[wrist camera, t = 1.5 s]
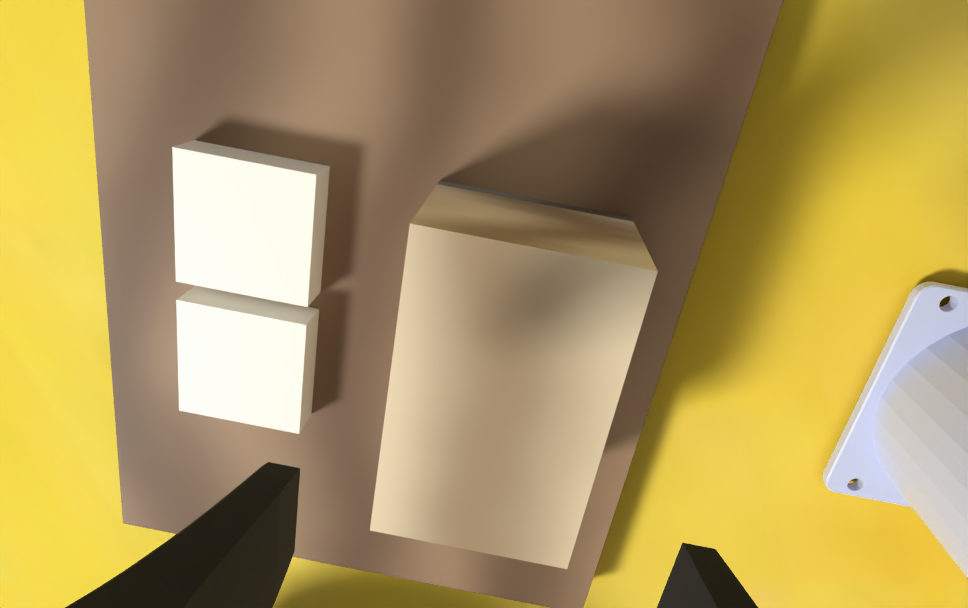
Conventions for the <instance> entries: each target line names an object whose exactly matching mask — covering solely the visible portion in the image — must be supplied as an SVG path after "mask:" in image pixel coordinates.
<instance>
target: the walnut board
mask: <svg viewBox="0 0 968 608" xmlns="http://www.w3.org/2000/svg"><path fill="white" fill-rule="evenodd" d="M782 3H783V0H84V6H85V19H86V33H87V46H88V60H89V73H90V86H91V100H92V113H93V127H94V140H95V153H96V167H97V180H98V194H99V207H100V220H101V234H102V247H103V260H104V274H105V287H106V301H107V314H108V327H109V341H110V354H111V368H112V381H113V394H114V408H115V421H116V435H117V448H118V461H119V475H120V488H121V502H122V515H123V523H124V524H129V525H134V526H139V527H145V528H150V529H155V530H160V531H165V532H170V533H175V534H178V533H179V532H180V531H181V530H183V529H184V528H185V527H187V526H188V525H189V524H191V523H192V522H193V521H194V520H196V519H197V518H198V517H200V516H201V515H202V514H204V513H205V512H206V511H208V510H209V509H210V508H211V507H213V506H214V505H215V504H216V503H218V502H219V501H220V500H221V499H223V498H224V497H225V496H226V495H228V494H229V493H230V492H231V491H232V490H234V489H235V488H236V487H237V486H238V485H240V484H241V483H242V482H243V481H244V480H246V479H247V478H248V477H249V476H250V475H252V474H253V473H254V472H255V471H256V470H258V469H259V468H260V467H261V466H263V465H264V464H266V463H267V462H271V463H276V464H281V465H286V466H292V467H297V468H300V480H299V494H298V509H297V524H296V538H295V551H294V554H293V556H292V557H297V558H302V559H307V560H312V561H317V562H322V563H327V564H332V565H337V566H342V567H347V568H353V569H358V570H363V571H368V572H373V573H378V574H383V575H388V576H393V577H398V578H403V579H408V580H413V581H418V582H424V583H429V584H434V585H439V586H444V587H449V588H454V589H459V590H464V591H469V592H474V593H479V594H484V595H490V596H495V597H500V598H505V599H510V600H515V601H520V602H525V603H530V604H535V605H540V606H545V607H550V608H583V607H584V604H585V601H586V598H587V595H588V592H589V589H590V586H591V583H592V580H593V577H594V574H595V571H596V568H597V565H598V562H599V559H600V555H601V552H602V549H603V546H604V543H605V540H606V537H607V534H608V531H609V528H610V525H611V522H612V519H613V516H614V513H615V510H616V507H617V504H618V501H619V498H620V495H621V492H622V489H623V486H624V483H625V480H626V477H627V474H628V470H629V467H630V464H631V461H632V458H633V455H634V452H635V449H636V446H637V443H638V440H639V437H640V434H641V431H642V428H643V425H644V422H645V419H646V416H647V413H648V410H649V407H650V404H651V401H652V398H653V395H654V392H655V389H656V385H657V382H658V379H659V376H660V373H661V370H662V367H663V364H664V361H665V358H666V355H667V352H668V349H669V346H670V343H671V340H672V337H673V334H674V331H675V328H676V325H677V322H678V319H679V316H680V313H681V310H682V307H683V304H684V300H685V297H686V294H687V291H688V288H689V285H690V282H691V279H692V276H693V273H694V270H695V267H696V264H697V261H698V258H699V255H700V252H701V249H702V246H703V243H704V240H705V237H706V234H707V231H708V228H709V225H710V222H711V219H712V215H713V212H714V209H715V206H716V203H717V200H718V197H719V194H720V191H721V188H722V185H723V182H724V179H725V176H726V173H727V170H728V167H729V164H730V161H731V158H732V155H733V152H734V149H735V146H736V143H737V140H738V137H739V134H740V130H741V127H742V124H743V121H744V118H745V115H746V112H747V109H748V106H749V103H750V100H751V97H752V94H753V91H754V88H755V85H756V82H757V79H758V76H759V73H760V70H761V67H762V64H763V61H764V58H765V55H766V52H767V49H768V45H769V42H770V39H771V36H772V33H773V30H774V27H775V24H776V21H777V18H778V15H779V12H780V9H781V6H782ZM193 140H196V141H201V142H206V143H211V144H217V145H222V146H227V147H232V148H238V149H243V150H248V151H253V152H258V153H264V154H269V155H274V156H279V157H284V158H290V159H295V160H300V161H305V162H310V163H316V164H321V165H326V166H330V171H329V185H328V198H327V212H326V225H325V239H324V252H323V265H322V279H321V292H320V293H319V294H318V296H317V297H316V298H315V299H314V300H313V301H312V303H311V304H310V305H309V306H308V307H311V308H316V309H319V319H318V332H317V346H316V359H315V373H314V386H313V400H312V413H311V415H310V417H309V419H308V420H307V422H306V424H305V425H304V427H303V429H302V430H301V432H300V434H297V433H291V432H286V431H281V430H276V429H271V428H266V427H261V426H256V425H250V424H245V423H240V422H235V421H230V420H225V419H220V418H215V417H210V416H204V415H199V414H194V413H189V412H184V411H179V388H178V349H177V311H176V300H177V299H178V298H179V297H181V296H182V295H183V294H185V293H186V292H188V291H189V290H190V289H192V288H193V287H194V286H196V285H191V284H186V283H180V282H176V272H175V233H174V195H173V156H172V147H174V146H177V145H181V144H184V143H187V142H190V141H193ZM440 180H441V181H446V182H451V183H456V184H461V185H467V186H472V187H477V188H482V189H487V190H493V191H498V192H503V193H508V194H514V195H519V196H524V197H529V198H534V199H540V200H545V201H550V202H555V203H560V204H566V205H571V206H576V207H581V208H587V209H592V210H597V211H602V212H607V213H613V214H618V215H623V216H628V217H632V219H633V221H634V223H635V225H636V227H637V229H638V231H639V234H640V236H641V238H642V240H643V242H644V244H645V246H646V248H647V250H648V252H649V254H650V256H651V258H652V260H653V262H654V264H655V266H656V268H657V271H658V273H657V276H656V279H655V282H654V286H653V289H652V292H651V295H650V299H649V302H648V305H647V309H646V312H645V315H644V318H643V322H642V325H641V328H640V332H639V335H638V338H637V341H636V345H635V348H634V351H633V355H632V358H631V361H630V364H629V368H628V371H627V374H626V378H625V381H624V384H623V387H622V391H621V394H620V397H619V401H618V404H617V407H616V410H615V414H614V417H613V420H612V424H611V427H610V430H609V433H608V437H607V440H606V443H605V447H604V450H603V453H602V456H601V460H600V463H599V466H598V470H597V473H596V476H595V479H594V483H593V486H592V489H591V493H590V496H589V499H588V502H587V506H586V509H585V512H584V515H583V519H582V522H581V525H580V529H579V532H578V535H577V538H576V542H575V545H574V548H573V552H572V555H571V558H570V561H569V565H568V568H567V569H563V568H558V567H553V566H548V565H543V564H538V563H533V562H528V561H523V560H518V559H513V558H507V557H502V556H497V555H492V554H487V553H482V552H477V551H472V550H467V549H462V548H457V547H452V546H446V545H441V544H436V543H431V542H426V541H421V540H416V539H411V538H406V537H401V536H396V535H390V534H385V533H380V532H375V531H370V525H371V517H372V510H373V502H374V494H375V487H376V479H377V471H378V463H379V456H380V448H381V440H382V433H383V425H384V417H385V410H386V402H387V394H388V387H389V379H390V371H391V364H392V356H393V348H394V341H395V333H396V325H397V318H398V310H399V302H400V295H401V287H402V279H403V272H404V264H405V256H406V249H407V241H408V233H409V226H410V222H411V221H412V220H413V218H414V217H415V215H416V214H417V212H418V211H419V209H420V208H421V207H422V205H423V204H424V202H425V201H426V199H427V198H428V196H429V195H430V194H431V192H432V191H433V189H434V188H435V186H436V185H437V183H438V182H439V181H440Z"/></svg>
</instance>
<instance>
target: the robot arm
mask: <svg viewBox="0 0 968 608" xmlns="http://www.w3.org/2000/svg"><path fill="white" fill-rule="evenodd" d="M947 296H951V297H950V301H949V302H948V303H947V304H946V305H944V306H941V307H939V304H940V302H941V300H942V299H943V298H945V297H947ZM822 479H823V482H824V483H825V485H826V487H827V488H828V489H829V490H831V491H833V492H837V493H842V494H847V495H852V496H857V497H862V498H867V499H872V500H878V501H883V502H888V503H893V504H898V505H903V506H908V507H912V508H913V509H914V510H915V512H916V513H917V514H918V515H919V517H920V518H921V519H922V521H923V522H924V523H925V524H926V526H927V527H928V528H929V530H930V531H931V532H932V533H933V535H934V536H935V537H936V539H937V540H938V541H939V542H940V544H941V545H942V546H943V547H944V549H945V550H946V551H947V553H948V554H949V555H950V556H951V558H952V559H953V560H954V562H955V563H956V564H957V565H958V567H959V568H960V569H961V571H962V572H963V573H964V574H965V576H966V577H967V578H968V288H964V287H959V286H954V285H948V284H943V283H938V282H924V283H921V284H919V285H917V286H916V287H915V288H914V289H913V290H912V291H911V293H910V295H909V297H908V299H907V301H906V303H905V305H904V307H903V309H902V311H901V313H900V315H899V317H898V319H897V321H896V324H895V326H894V328H893V330H892V332H891V334H890V336H889V338H888V340H887V342H886V344H885V346H884V348H883V350H882V352H881V354H880V357H879V359H878V361H877V363H876V365H875V367H874V369H873V371H872V373H871V375H870V377H869V379H868V381H867V383H866V385H865V387H864V390H863V392H862V394H861V396H860V398H859V400H858V402H857V404H856V406H855V408H854V410H853V412H852V414H851V416H850V418H849V420H848V423H847V425H846V427H845V429H844V431H843V433H842V435H841V437H840V439H839V441H838V443H837V445H836V447H835V449H834V451H833V453H832V456H831V458H830V460H829V462H828V464H827V466H826V468H825V470H824V472H823V476H822ZM852 479H857V480H856V481H855V482H853V483H849V481H850V480H852ZM299 480H300V468H297V467H292V466H286V465H281V464H276V463H271V462H267V463H266V464H264V465H263V466H261V467H260V468H259V469H258V470H256V471H255V472H254V473H253V474H252V475H250V476H249V477H248V478H247V479H246V480H244V481H243V482H242V483H241V484H240V485H238V486H237V487H236V488H235V489H234V490H232V491H231V492H230V493H229V494H228V495H226V496H225V497H224V498H223V499H221V500H220V501H219V502H218V503H216V504H215V505H214V506H213V507H211V508H210V509H209V510H208V511H206V512H205V513H204V514H202V515H201V516H200V517H198V518H197V519H196V520H194V521H193V522H192V523H191V524H189V525H188V526H187V527H185V528H184V529H183V530H181V531H180V532H179V533H178V534H176V535H175V536H173V537H172V538H171V539H169V540H168V541H167V542H165V543H164V544H162V545H161V546H159V547H158V548H157V549H155V550H154V551H152V552H151V553H149V554H148V555H147V556H145V557H144V558H142V559H141V560H139V561H138V562H137V563H135V564H134V565H132V566H131V567H129V568H128V569H126V570H125V571H123V572H122V573H120V574H119V575H117V576H116V577H114V578H113V579H111V580H110V581H108V582H106V583H105V584H103V585H102V586H100V587H98V588H97V589H95V590H94V591H92V592H90V593H89V594H87V595H85V596H84V597H82V598H80V599H79V600H77V601H75V602H74V603H72V604H70V605H69V606H67V607H65V608H272V607H273V605H274V603H275V600H276V598H277V595H278V593H279V590H280V588H281V585H282V583H283V580H284V578H285V575H286V572H287V570H288V567H289V564H290V562H291V559H292V556H293V554H294V551H295V538H296V524H297V509H298V494H299ZM657 608H758V607H757V606H756V604H755V603H754V601H753V600H752V599H751V597H750V596H749V595H748V593H747V592H746V590H745V589H744V588H743V586H742V585H741V584H740V582H739V581H738V579H737V578H736V577H735V575H734V574H733V572H732V571H731V570H730V568H729V567H728V566H727V564H726V563H725V562H724V560H723V559H722V557H721V556H720V555H719V553H718V552H717V551H716V550H715V549H712V548H707V547H702V546H696V545H691V544H686V543H682V545H681V548H680V551H679V553H678V556H677V558H676V561H675V563H674V566H673V568H672V571H671V573H670V576H669V578H668V581H667V584H666V586H665V589H664V591H663V594H662V596H661V599H660V601H659V604H658V606H657Z"/></svg>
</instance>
